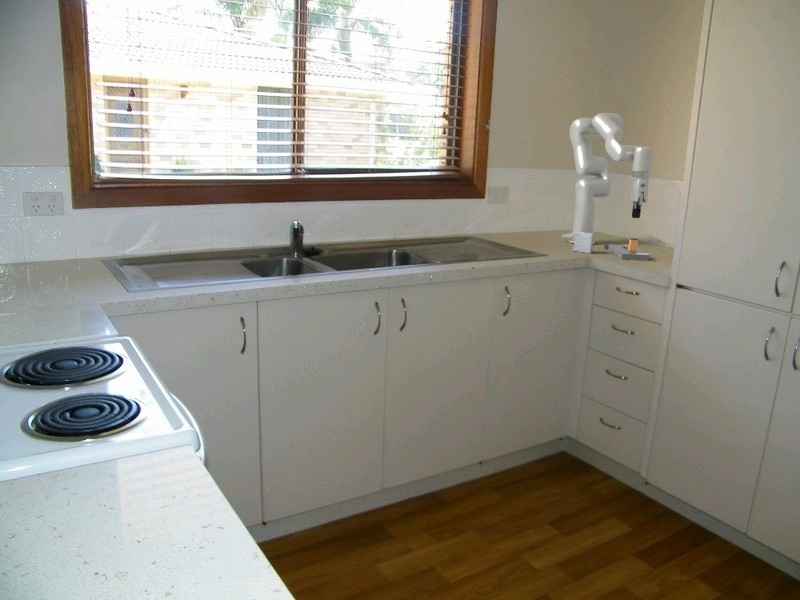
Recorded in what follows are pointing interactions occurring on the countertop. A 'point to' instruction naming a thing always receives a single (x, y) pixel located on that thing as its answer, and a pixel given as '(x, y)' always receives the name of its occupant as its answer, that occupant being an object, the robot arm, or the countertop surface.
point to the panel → (628, 252)
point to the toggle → (633, 245)
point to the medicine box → (583, 242)
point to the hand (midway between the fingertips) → (635, 217)
